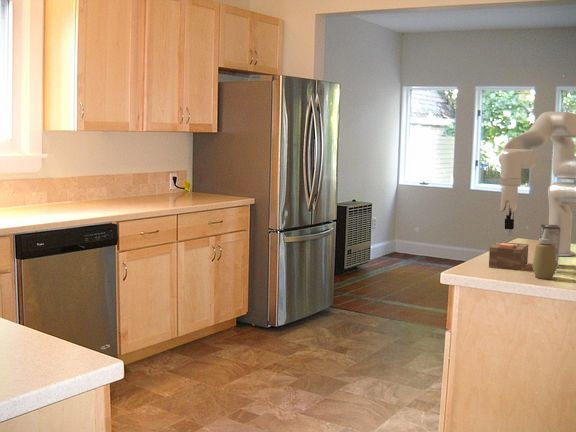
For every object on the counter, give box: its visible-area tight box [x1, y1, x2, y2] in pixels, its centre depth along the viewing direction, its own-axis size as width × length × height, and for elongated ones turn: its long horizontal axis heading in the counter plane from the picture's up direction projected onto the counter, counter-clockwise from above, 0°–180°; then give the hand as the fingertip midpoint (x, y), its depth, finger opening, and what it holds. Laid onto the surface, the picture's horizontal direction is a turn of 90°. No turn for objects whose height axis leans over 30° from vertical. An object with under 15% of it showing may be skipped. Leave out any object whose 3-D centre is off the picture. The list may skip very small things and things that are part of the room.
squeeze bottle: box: [532, 229, 557, 280], centre depth 262 cm, size 8×8×18 cm
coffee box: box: [539, 223, 560, 269], centre depth 287 cm, size 9×6×16 cm
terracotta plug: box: [500, 242, 515, 249], centre depth 283 cm, size 5×5×6 cm
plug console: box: [488, 241, 529, 271], centre depth 286 cm, size 16×12×8 cm
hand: (509, 228), depth 282 cm, fingers closed
